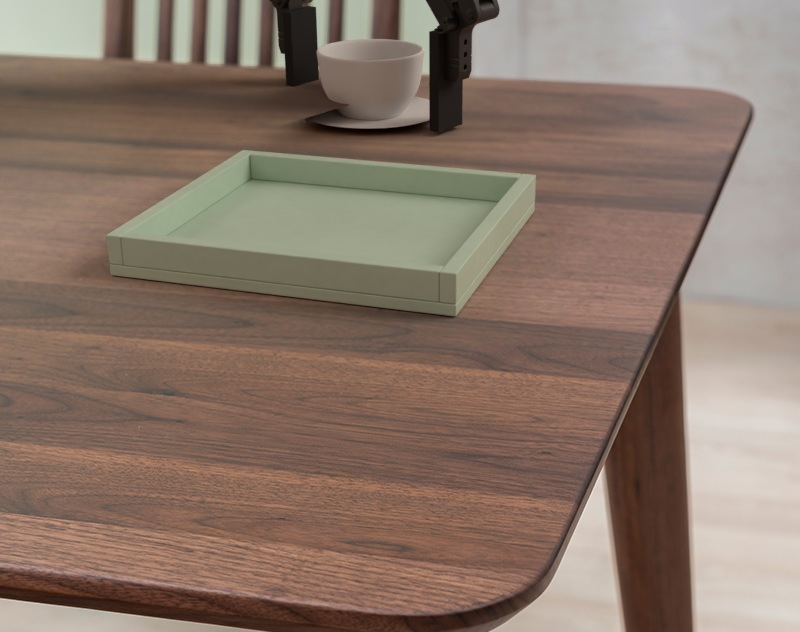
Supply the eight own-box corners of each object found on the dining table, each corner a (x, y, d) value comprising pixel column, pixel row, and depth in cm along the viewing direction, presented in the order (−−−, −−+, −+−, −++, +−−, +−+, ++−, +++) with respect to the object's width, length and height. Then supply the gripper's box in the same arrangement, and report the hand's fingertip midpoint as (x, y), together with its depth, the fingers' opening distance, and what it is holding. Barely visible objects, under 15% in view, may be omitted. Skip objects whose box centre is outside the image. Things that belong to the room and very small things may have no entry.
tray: (110, 275, 61) (105, 234, 61) (244, 184, 75) (242, 149, 74) (455, 317, 56) (456, 273, 55) (534, 211, 70) (536, 174, 69)
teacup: (436, 136, 84) (437, 65, 81) (289, 134, 85) (285, 63, 82) (447, 100, 92) (447, 35, 90) (313, 98, 93) (310, 34, 91)
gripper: (563, -230, 74) (548, 128, 84) (264, -228, 88) (281, 81, 98) (490, -228, 69) (483, 154, 79) (185, -226, 83) (211, 100, 93)
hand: (371, 114), depth 88 cm, fingers open, 12 cm apart
